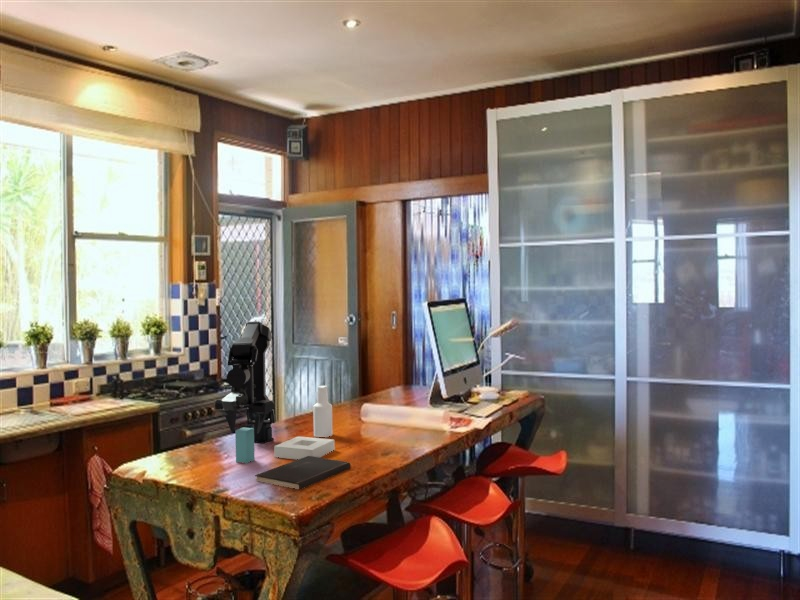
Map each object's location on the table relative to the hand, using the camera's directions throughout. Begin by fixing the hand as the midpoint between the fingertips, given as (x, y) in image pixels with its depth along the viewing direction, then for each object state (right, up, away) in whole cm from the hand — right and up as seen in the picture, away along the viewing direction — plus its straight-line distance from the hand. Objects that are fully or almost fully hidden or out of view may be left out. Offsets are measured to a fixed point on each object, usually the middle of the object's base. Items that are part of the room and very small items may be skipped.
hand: (244, 432), depth 197 cm
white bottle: (+20, -8, +33) cm, 39 cm away
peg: (0, -9, 0) cm, 9 cm away
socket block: (+18, -9, +8) cm, 21 cm away
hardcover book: (+21, -10, -15) cm, 27 cm away
